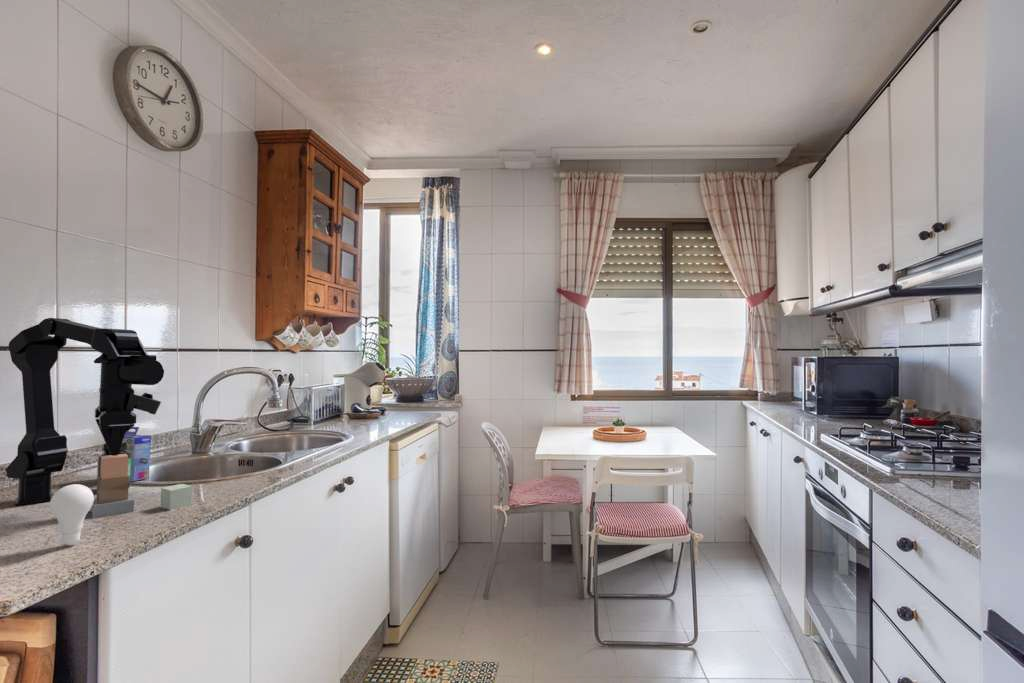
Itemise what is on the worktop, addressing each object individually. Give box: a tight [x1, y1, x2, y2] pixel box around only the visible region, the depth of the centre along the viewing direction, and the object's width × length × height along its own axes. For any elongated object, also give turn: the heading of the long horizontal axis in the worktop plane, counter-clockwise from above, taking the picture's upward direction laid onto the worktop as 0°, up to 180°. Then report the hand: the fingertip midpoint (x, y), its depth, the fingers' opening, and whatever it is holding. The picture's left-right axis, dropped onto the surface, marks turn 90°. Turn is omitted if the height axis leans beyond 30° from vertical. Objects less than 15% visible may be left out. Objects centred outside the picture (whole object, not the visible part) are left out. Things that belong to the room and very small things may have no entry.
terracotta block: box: [100, 454, 128, 480], centre depth 114 cm, size 4×4×4 cm
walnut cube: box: [96, 476, 129, 504], centre depth 114 cm, size 5×5×5 cm
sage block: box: [160, 483, 193, 511], centre depth 118 cm, size 4×4×4 cm
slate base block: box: [90, 493, 135, 519], centre depth 114 cm, size 7×7×3 cm
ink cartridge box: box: [123, 426, 152, 483], centre depth 143 cm, size 10×6×14 cm, turn 78°
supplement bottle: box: [96, 441, 131, 489], centre depth 132 cm, size 7×7×12 cm
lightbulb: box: [49, 483, 95, 547], centre depth 93 cm, size 6×6×11 cm
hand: (113, 452), depth 116 cm, fingers open, 9 cm apart
